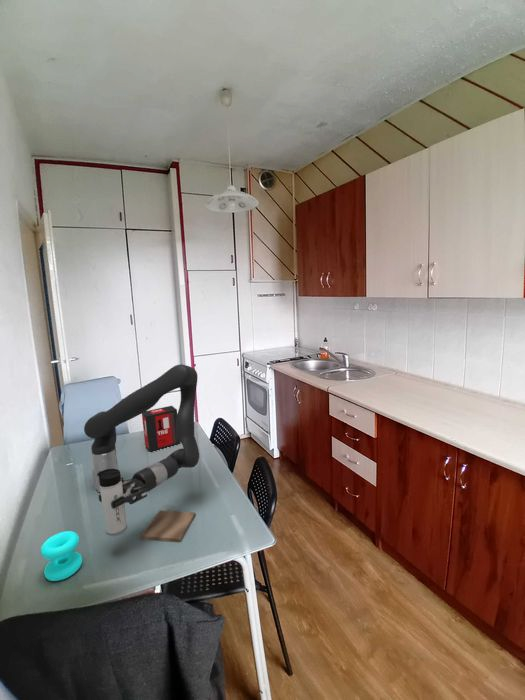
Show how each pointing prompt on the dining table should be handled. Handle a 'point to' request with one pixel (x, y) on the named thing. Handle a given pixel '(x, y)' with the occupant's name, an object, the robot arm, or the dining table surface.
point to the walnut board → (168, 526)
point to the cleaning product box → (160, 428)
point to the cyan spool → (61, 555)
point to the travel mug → (109, 493)
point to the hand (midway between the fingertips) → (105, 502)
